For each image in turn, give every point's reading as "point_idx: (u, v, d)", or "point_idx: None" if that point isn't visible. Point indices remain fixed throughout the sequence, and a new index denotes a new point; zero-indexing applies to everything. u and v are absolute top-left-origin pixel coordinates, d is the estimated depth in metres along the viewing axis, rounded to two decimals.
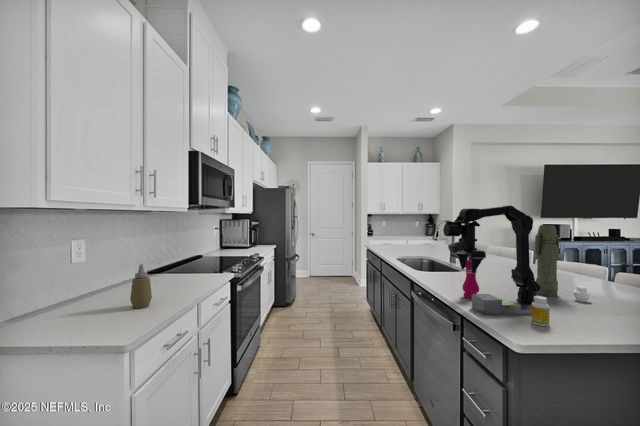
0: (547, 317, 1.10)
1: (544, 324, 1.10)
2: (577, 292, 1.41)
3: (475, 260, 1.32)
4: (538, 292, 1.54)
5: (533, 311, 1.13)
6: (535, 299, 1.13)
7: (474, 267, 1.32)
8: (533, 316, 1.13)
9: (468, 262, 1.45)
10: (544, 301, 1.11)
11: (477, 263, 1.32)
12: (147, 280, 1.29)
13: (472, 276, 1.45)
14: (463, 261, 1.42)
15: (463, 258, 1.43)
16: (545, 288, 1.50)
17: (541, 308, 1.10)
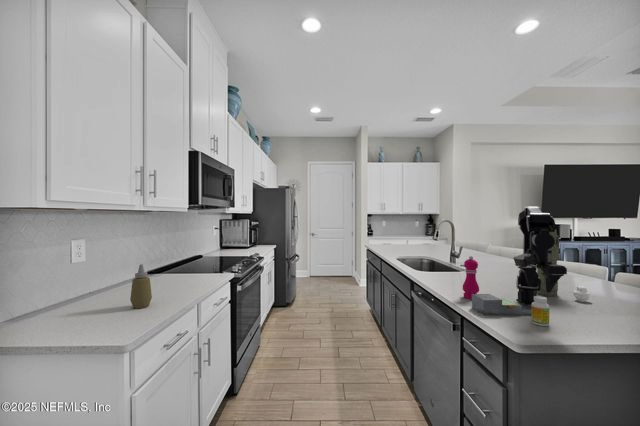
0: (547, 317, 1.10)
1: (544, 324, 1.10)
2: (577, 292, 1.41)
3: (551, 277, 1.07)
4: (538, 292, 1.54)
5: (533, 311, 1.13)
6: (535, 299, 1.13)
7: (550, 285, 1.07)
8: (533, 316, 1.13)
9: (468, 262, 1.45)
10: (544, 301, 1.11)
11: (554, 280, 1.07)
12: (147, 280, 1.29)
13: (472, 276, 1.45)
14: (530, 277, 1.18)
15: (530, 273, 1.18)
16: (545, 288, 1.50)
17: (541, 308, 1.10)
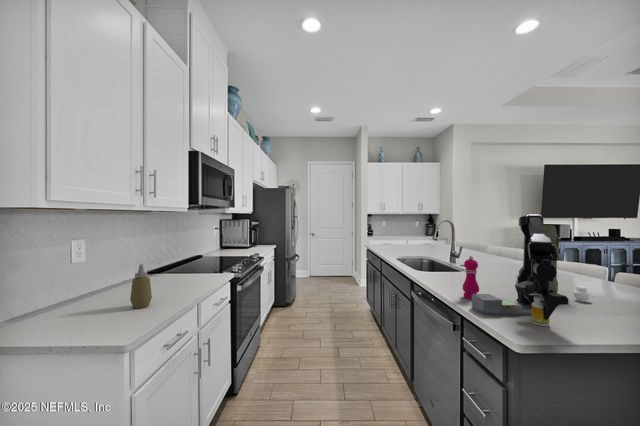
0: None
1: (544, 324, 1.10)
2: (577, 292, 1.41)
3: (549, 304, 1.09)
4: None
5: (533, 311, 1.13)
6: (535, 299, 1.13)
7: (548, 313, 1.09)
8: (533, 316, 1.13)
9: (468, 262, 1.45)
10: None
11: (552, 308, 1.09)
12: (147, 280, 1.29)
13: (472, 276, 1.45)
14: None
15: None
16: None
17: (541, 308, 1.10)
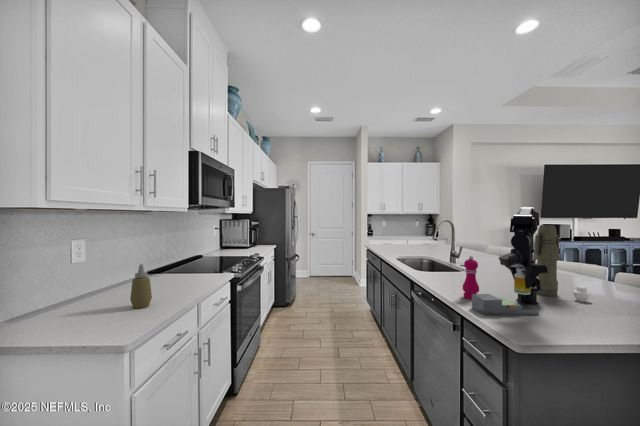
0: None
1: (526, 293, 1.17)
2: (577, 292, 1.41)
3: (530, 274, 1.15)
4: (538, 292, 1.54)
5: (516, 281, 1.19)
6: (517, 270, 1.19)
7: (529, 282, 1.16)
8: (516, 286, 1.19)
9: (468, 262, 1.45)
10: None
11: (533, 277, 1.15)
12: (147, 280, 1.29)
13: (472, 276, 1.45)
14: None
15: None
16: (545, 288, 1.50)
17: (523, 278, 1.17)
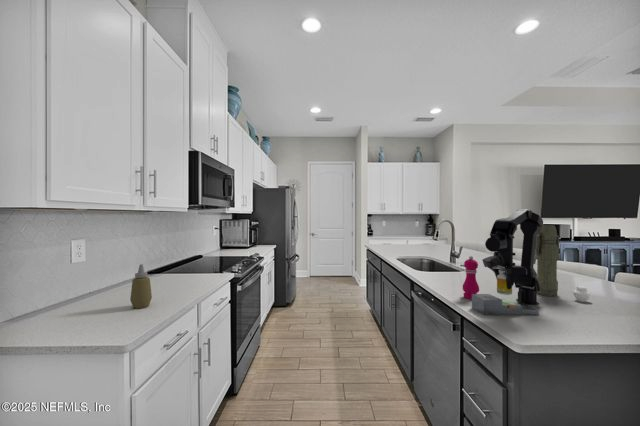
0: None
1: (507, 293, 1.24)
2: (577, 292, 1.41)
3: (511, 275, 1.23)
4: (538, 292, 1.54)
5: (498, 282, 1.26)
6: (500, 271, 1.26)
7: (510, 283, 1.23)
8: (498, 287, 1.26)
9: (468, 262, 1.45)
10: None
11: (513, 279, 1.22)
12: (147, 280, 1.29)
13: (472, 276, 1.45)
14: None
15: None
16: (545, 288, 1.50)
17: (504, 279, 1.24)
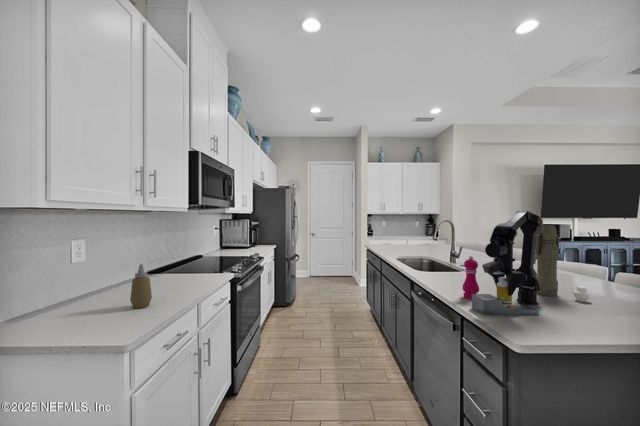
0: None
1: (507, 301, 1.24)
2: (577, 292, 1.41)
3: (512, 282, 1.22)
4: (538, 292, 1.54)
5: (498, 290, 1.27)
6: (499, 279, 1.27)
7: (511, 289, 1.22)
8: (498, 294, 1.26)
9: (468, 262, 1.45)
10: None
11: (515, 285, 1.22)
12: (147, 280, 1.29)
13: (472, 276, 1.45)
14: None
15: None
16: (545, 288, 1.50)
17: (504, 287, 1.25)
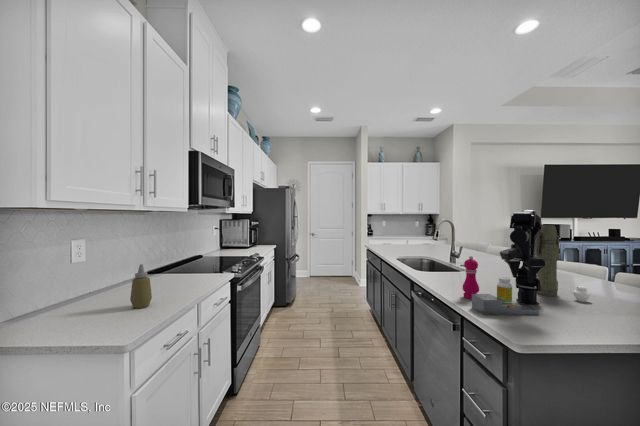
0: (510, 295, 1.24)
1: (507, 301, 1.24)
2: (577, 292, 1.41)
3: (532, 269, 1.21)
4: (538, 292, 1.54)
5: (498, 290, 1.26)
6: (500, 280, 1.26)
7: (531, 276, 1.21)
8: (498, 295, 1.26)
9: (468, 262, 1.45)
10: (507, 281, 1.25)
11: (535, 272, 1.21)
12: (147, 280, 1.29)
13: (472, 276, 1.45)
14: (515, 269, 1.31)
15: (515, 266, 1.32)
16: (545, 288, 1.50)
17: (504, 287, 1.24)
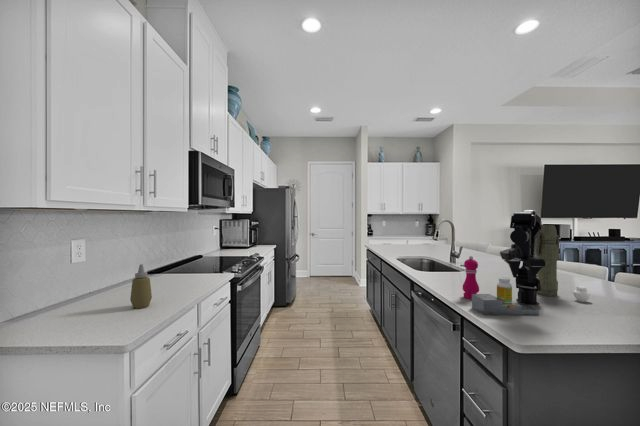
0: (510, 295, 1.24)
1: (507, 301, 1.24)
2: (577, 292, 1.41)
3: (533, 268, 1.21)
4: (538, 292, 1.54)
5: (498, 290, 1.26)
6: (499, 280, 1.26)
7: (531, 276, 1.21)
8: (498, 295, 1.26)
9: (468, 262, 1.45)
10: (507, 281, 1.25)
11: (535, 272, 1.21)
12: (147, 280, 1.29)
13: (472, 276, 1.45)
14: (515, 269, 1.31)
15: (515, 266, 1.32)
16: (545, 288, 1.50)
17: (504, 287, 1.24)
